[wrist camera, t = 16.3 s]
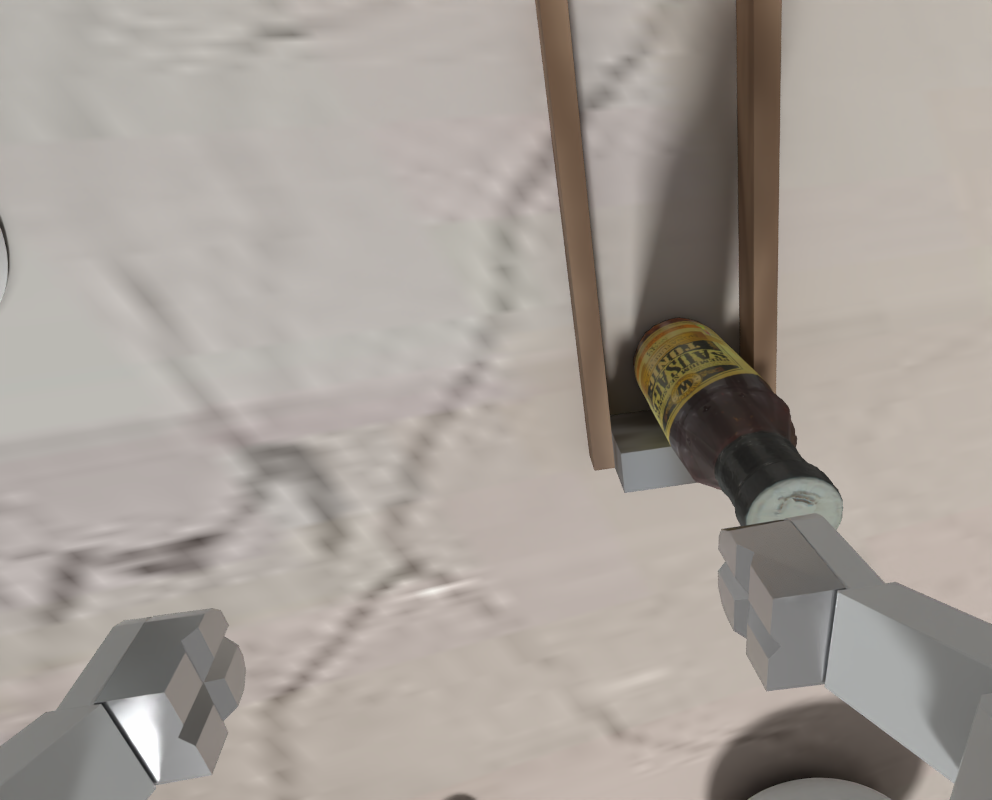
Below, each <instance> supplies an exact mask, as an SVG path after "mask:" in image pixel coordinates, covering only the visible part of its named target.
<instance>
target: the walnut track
mask: <svg viewBox="0 0 992 800" xmlns="http://www.w3.org/2000/svg"><path fill="white" fill-rule="evenodd" d="M535 3H536V11H537V20H538V28H539V36H540V45H541V53H542V62H543V70H544V78H545V87H546V95H547V103H548V112H549V120H550V128H551V137H552V145H553V153H554V162H555V170H556V179H557V187H558V195H559V204H560V212H561V220H562V229H563V237H564V245H565V254H566V262H567V271H568V279H569V287H570V296H571V304H572V312H573V321H574V329H575V337H576V346H577V354H578V362H579V371H580V379H581V387H582V396H583V404H584V413H585V421H586V429H587V438H588V446H589V454H590V458H591V461H592V464H593V467H594V470H602V469H609V468H615V469H616V471H617V474H618V477H619V479H620V482H621V484H622V487H623V490H624V492H625V493H627V492H634V491H641V490H648V489H656V488H663V487H670V486H677V485H684V484H691V483H698V482H696V481H695V480H693V478H692V477H691V475H690V474H689V472H688V471H687V469H686V468H685V466H684V465H683V463H682V462H681V460H680V459H679V458H678V456H677V455H676V453H675V452H674V450H673V449H672V447H671V446H670V444H669V442H668V440H667V438H666V436H665V434H664V432H663V430H662V428H661V426H660V424H659V423H658V421H657V419H656V417H655V415H654V413H653V411H652V410H646V411H639V412H633V413H626V414H619V415H613V416H610V413H609V404H608V394H607V384H606V374H605V364H604V355H603V345H602V335H601V325H600V315H599V306H598V296H597V286H596V276H595V266H594V257H593V247H592V237H591V227H590V217H589V208H588V198H587V188H586V178H585V169H584V159H583V149H582V139H581V129H580V120H579V110H578V100H577V90H576V80H575V71H574V61H573V51H572V41H571V31H570V22H569V12H568V2H567V0H535ZM781 11H782V0H736V19H737V119H738V218H739V317H740V357H741V358H742V359H743V360H744V361H745V362H746V363H747V364H748V365H749V366H750V367H751V368H752V369H754V370H755V371H756V372H757V373H758V374H759V375H760V376H761V377H762V378H763V379H764V380H765V381H766V382H767V383H768V384H769V386H770V387H771V389H772V391H773V392H774V393H775V394H776V353H777V285H778V216H779V148H780V80H781Z"/></svg>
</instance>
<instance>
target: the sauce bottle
mask: <svg viewBox="0 0 992 800" xmlns="http://www.w3.org/2000/svg"><path fill="white" fill-rule="evenodd" d="M633 362H634V366H635V376H636V380H637V383H638V385H639V387H640V389H641V391H642V392H643V394H644V396H645V398H646V400H647V402H648V403H649V405H650V407H651V409H652V411H653V413H654V415H655V417H656V419H657V421H658V423H659V424H660V426H661V428H662V430H663V432H664V434H665V436H666V438H667V440H668V442H669V444H670V446H671V447H672V449H673V450H674V452H675V453H676V455H677V456H678V458H679V459H680V460H681V462H682V463H683V465H684V466H685V468H686V469H687V471H688V472H689V474H690V475H691V477H692V478H693V480H695V481H696V482H698V483H701V484H705V485H708V486H711V487H714V488H716V489H720V490H722V491H723V492H724V493H725V494H726V495H727V496H728V497H729V499H730V500H731V502H732V504H733V506H734V507H735V514H736V517H737V519H738V521H739V523H740V525H741V526H745V525H751V524H757V523H763V522H770V521H776V520H784V519H785V518H790V517H796V516H801V515H807V514H813V513H817V514H819V515H822V516H823V517H824V518H825V519H826V520H827V521H828V522H829V523H830V524H831V525H832V526H833V527H834V529H835V530H837V528H838V526H839V525H840V522H841V520H842V511H843V501H842V498H841V495H840V493H839V491H838V489H837V488H836V487H835V486H834V485H833V483H832V482H831V481H830V479H829V478H828V477H827V476H826V475H825V474H824V473H823V472H822V471H820V470H819V469H818V468H817V467H815V466H813V465H811V464H809V463H807V462H806V461H805V460H804V459H803V458H802V457H801V456H800V454H799V453H798V451H797V449H796V444H797V436H796V435H795V428H794V426H793V423H792V422H791V415H790V410H789V407H788V406H787V405H786V403H785V402H784V401H783V400H782V399H781V398H779V397H778V396H777V395H776V394H775V393H774V392H773V391H772V389H771V387H770V386H769V384H768V383H767V382H766V381H765V380H764V379H763V378H762V377H761V376H760V375H759V374H758V373H757V372H756V371H755V370H754V369H752V368H751V367H750V366H749V365H748V364H747V363H746V362H745V361H744V360H743V359H742V358H741V357H740V356H739V355H738V354H737V353H736V352H735V351H734V350H733V349H732V348H731V347H730V346H728V345H727V344H726V343H725V342H724V341H723V340H722V339H721V338H720V337H719V336H718V335H717V334H716V333H715V332H714V331H713V330H711V329H710V328H708V327H707V326H705V325H703V324H701V323H700V322H698V321H694V320H691V319H685V318H674V319H670V320H667V321H664V322H662V323H659V324H658V325H655V326H653V327H652V328H651V330H649V331H647V332H646V333H645V335H644V336H643V338H642V339H641V341H640V343H639V345H638V347H637V349H636V353H635V356H634V359H633Z"/></svg>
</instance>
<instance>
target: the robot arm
mask: <svg viewBox="0 0 992 800" xmlns="http://www.w3.org/2000/svg"><path fill="white" fill-rule="evenodd" d="M7 275H8V260H7V252H6V246H5V242H4V238H3V234H2V231H1V228H0V302H1V300H2V297H3V295H4V291H5V288H6V283H7ZM718 550H719V551H720V553H721V555H722V556H723V558H724V560H725V561H726V562H725V563H724V564H723V565H722V567H721V568H720V569H719V570H718V588H719V593H720V598H721V603H722V606H723V609H724V611H725V614H726V617H727V619H728V621H729V623H730V625H731V627H732V629H733V630H734V631H735V632H737V633H738V634H740V635H742V636H743V637H745V638H746V639H747V642H746V655H747V657H748V658H749V660H750V662H751V664H752V666H753V668H754V669H755V671H756V673H757V675H758V677H759V679H760V680H761V682H762V684H763V686H764V688H765V690H766V691H772V690H780V689H788V688H797V687H805V686H813V685H821V684H825V688H827V689H828V690H829V691H831V692H832V693H833V694H835V695H836V696H837V697H839V698H840V699H841V700H843V701H844V702H845V703H847V704H848V705H849V706H851V707H852V708H853V709H855V710H856V711H857V712H859V713H860V714H861V715H863V716H864V717H865V718H867V719H868V720H870V721H871V722H872V723H874V724H875V725H876V726H878V727H879V728H880V729H882V730H883V731H884V732H886V733H887V734H888V735H890V736H891V737H892V738H894V739H895V740H896V741H898V742H899V743H900V744H902V745H903V746H904V747H906V748H907V749H908V750H910V751H911V752H912V753H914V754H915V755H917V756H918V757H919V758H921V759H922V760H923V761H925V762H926V763H927V764H929V765H930V766H931V767H933V768H934V769H935V770H937V771H938V772H939V773H941V774H942V775H943V776H945V777H946V778H947V779H949V780H950V781H951V782H953V783H954V787H953V790H952V794H951V797H950V800H992V624H990V623H988V622H985V621H983V620H981V619H979V618H976V617H974V616H972V615H969V614H967V613H965V612H963V611H960V610H958V609H956V608H954V607H951V606H949V605H947V604H945V603H942V602H940V601H938V600H935V599H933V598H931V597H929V596H926V595H924V594H922V593H920V592H917V591H915V590H913V589H910V588H908V587H906V586H904V585H901V584H899V583H897V582H893V583H885V582H884V581H883V580H882V579H881V578H880V577H879V576H878V575H877V574H876V573H875V571H874V570H873V569H872V568H871V567H870V566H869V565H868V564H867V563H866V562H865V561H864V560H863V559H862V558H861V556H860V555H859V554H858V553H857V552H856V551H855V550H854V549H853V548H852V547H851V546H850V545H849V544H848V542H847V541H846V540H845V539H844V538H843V537H842V536H841V535H840V534H839V533H838V532H837V531H836V530H835V529H834V527H833V526H832V525H831V524H830V523H829V522H828V521H827V520H826V519H825V518H824V517H823V516H822V515H819V514H817V513H813V514H807V515H801V516H796V517H790V518H785V519H784V520H776V521H770V522H763V523H757V524H751V525H745V526H739V527H733V528H726V529H721V532H720V535H719V546H718ZM228 626H229V624H228V623H227V621H226V619H225V617H224V615H223V613H222V611H221V610H218V609H213V608H211V609H203V610H196V611H188V612H180V613H173V614H165V615H158V616H153V617H147V618H139V619H132V620H124V621H122V622H121V623H119V624H117V625H116V626H114V627H113V628H112V630H111V631H110V633H109V634H108V636H107V637H106V638H105V640H104V641H103V643H102V644H101V646H100V647H99V649H98V650H97V651H96V653H95V654H94V656H93V657H92V659H91V660H90V662H89V663H88V664H87V666H86V667H85V669H84V670H83V672H82V673H81V675H80V676H79V678H78V679H77V680H76V682H75V683H74V685H73V686H72V688H71V689H70V691H69V692H68V693H67V695H66V696H65V698H64V699H63V701H62V702H61V704H60V705H59V707H58V708H57V709H56V711H51V712H45V713H44V714H43V715H41V716H40V717H39V718H37V719H36V720H35V721H33V722H32V723H31V724H29V725H28V726H27V727H25V728H24V729H23V730H21V731H20V732H19V733H17V734H16V735H15V736H13V737H12V738H11V739H9V740H8V741H7V742H5V743H4V744H3V745H1V746H0V800H147V798H148V797H149V796H150V795H151V794H152V793H153V792H154V790H155V789H156V786H155V785H159V784H165V783H170V782H176V781H181V780H187V779H192V778H198V777H203V776H209V775H212V774H213V771H214V769H215V766H216V763H217V761H218V758H219V756H220V753H221V750H222V748H223V745H224V742H225V740H226V737H227V735H228V731H227V728H226V726H225V723H224V720H225V719H226V718H227V717H228V716H229V715H230V714H231V713H232V712H233V711H234V710H235V709H236V708H237V707H238V705H239V703H240V700H241V697H242V694H243V691H244V686H245V674H246V668H245V663H244V657H243V654H242V652H241V650H240V648H239V645H237V644H236V643H234V642H233V641H231V640H229V639H228V638H226V637H224V636H225V633H226V631H227V628H228Z"/></svg>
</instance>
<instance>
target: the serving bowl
mask: <svg viewBox="0 0 992 800" xmlns="http://www.w3.org/2000/svg"><path fill="white" fill-rule="evenodd" d="M748 800H892V799H890V798H889V797H887V796H885V795H884V794H882V793H880V792H878V791H876V790H874V789H872V788H869V787H867V786H864V785H861V784H858V783H855V782H851V781H846V780H841V779H834V778H806V779H798V780H793V781H788V782H784V783H781V784H778V785H775V786H772V787H770V788H767V789H765V790H763V791H761V792H759V793H757V794H755V795H754V796H752V797H751V798H749V799H748Z"/></svg>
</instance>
